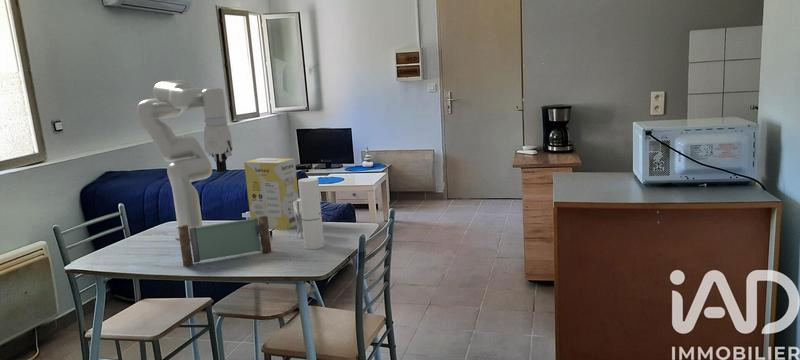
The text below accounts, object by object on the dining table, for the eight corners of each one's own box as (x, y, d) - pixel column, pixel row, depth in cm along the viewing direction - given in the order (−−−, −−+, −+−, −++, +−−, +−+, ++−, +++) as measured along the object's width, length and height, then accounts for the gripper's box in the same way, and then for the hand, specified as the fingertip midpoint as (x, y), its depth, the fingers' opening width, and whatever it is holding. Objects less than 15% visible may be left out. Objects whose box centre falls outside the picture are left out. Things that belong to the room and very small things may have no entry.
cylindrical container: (327, 243, 214) (321, 177, 209) (318, 249, 207) (312, 181, 203) (310, 242, 216) (304, 177, 212) (301, 248, 210) (294, 181, 205)
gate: (194, 263, 199) (189, 228, 197) (193, 261, 201) (189, 227, 199) (261, 251, 207) (257, 218, 205) (260, 250, 209) (256, 217, 206)
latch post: (259, 255, 205) (255, 220, 203) (257, 251, 209) (253, 217, 207) (272, 253, 207) (268, 218, 204) (270, 249, 211) (266, 215, 208)
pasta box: (301, 223, 246) (294, 158, 241) (285, 229, 237) (278, 162, 231) (267, 220, 254) (260, 157, 249) (251, 226, 245) (244, 162, 240)
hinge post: (183, 267, 198) (177, 227, 195) (183, 264, 200) (177, 225, 198) (193, 265, 199) (187, 226, 196) (192, 262, 202) (187, 224, 199)
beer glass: (310, 239, 221) (306, 201, 218) (293, 239, 223) (289, 201, 220) (316, 233, 228) (313, 197, 225) (300, 233, 229) (296, 197, 226)
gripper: (193, 123, 210) (199, 172, 214) (223, 123, 203) (229, 174, 207) (209, 121, 217) (215, 169, 220) (238, 121, 210) (244, 170, 213)
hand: (222, 171), depth 214 cm, fingers closed
